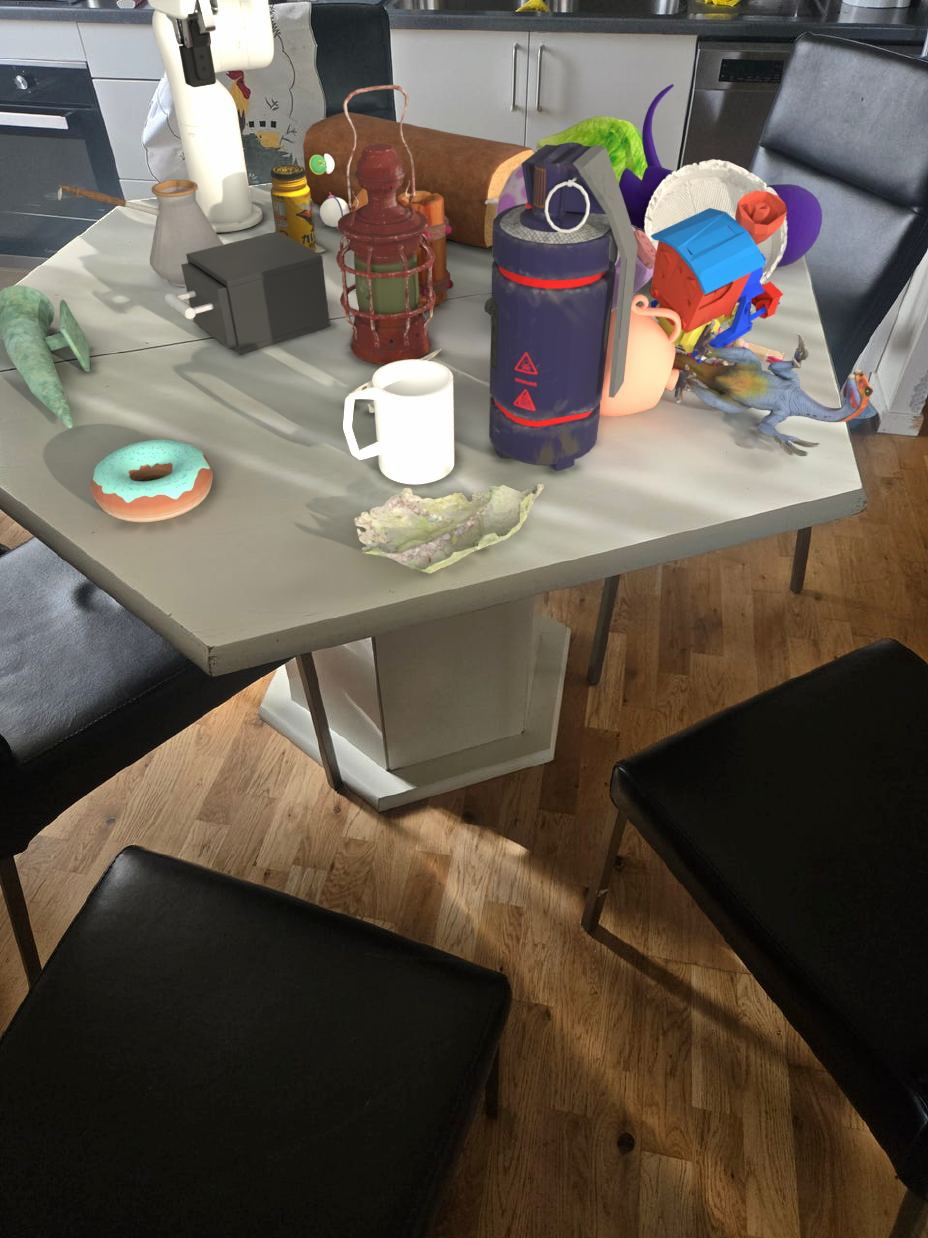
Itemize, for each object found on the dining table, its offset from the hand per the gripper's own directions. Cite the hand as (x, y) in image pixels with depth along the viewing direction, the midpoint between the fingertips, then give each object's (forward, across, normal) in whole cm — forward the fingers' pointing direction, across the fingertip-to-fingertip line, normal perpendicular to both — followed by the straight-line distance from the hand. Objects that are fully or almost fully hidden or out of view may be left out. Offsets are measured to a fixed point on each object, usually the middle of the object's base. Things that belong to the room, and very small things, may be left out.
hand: (201, 83), depth 106 cm
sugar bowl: (+20, +48, +20) cm, 56 cm away
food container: (+18, +35, +56) cm, 69 cm away
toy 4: (+27, +58, +43) cm, 77 cm away
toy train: (+21, +52, +37) cm, 67 cm away
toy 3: (+17, +11, +64) cm, 67 cm away
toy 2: (+24, +21, +53) cm, 62 cm away
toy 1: (+25, -26, +29) cm, 46 cm away
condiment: (+29, -17, +18) cm, 38 cm away
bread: (+29, -17, +43) cm, 54 cm away
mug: (+28, +10, +21) cm, 37 cm away
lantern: (+28, +22, +11) cm, 37 cm away
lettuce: (+14, -1, +70) cm, 71 cm away
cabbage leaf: (+23, +66, -6) cm, 70 cm away
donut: (+28, +35, -28) cm, 53 cm away
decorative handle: (+28, +23, +32) cm, 49 cm away
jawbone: (+29, +30, +7) cm, 42 cm away
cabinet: (+28, +5, +1) cm, 29 cm away
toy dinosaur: (+20, +57, +28) cm, 66 cm away
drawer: (+27, +5, -3) cm, 28 cm away
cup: (+28, +46, -4) cm, 54 cm away
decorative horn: (+28, +16, -35) cm, 47 cm away
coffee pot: (+29, -18, -4) cm, 34 cm away
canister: (+28, +53, +11) cm, 61 cm away
